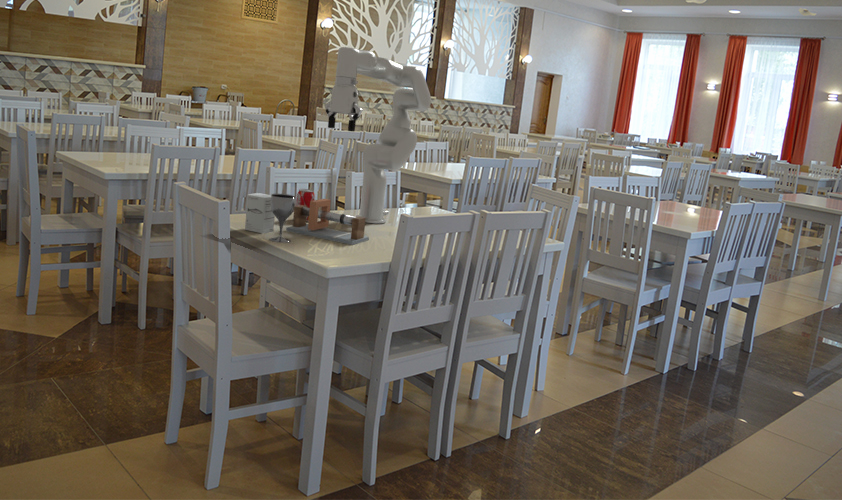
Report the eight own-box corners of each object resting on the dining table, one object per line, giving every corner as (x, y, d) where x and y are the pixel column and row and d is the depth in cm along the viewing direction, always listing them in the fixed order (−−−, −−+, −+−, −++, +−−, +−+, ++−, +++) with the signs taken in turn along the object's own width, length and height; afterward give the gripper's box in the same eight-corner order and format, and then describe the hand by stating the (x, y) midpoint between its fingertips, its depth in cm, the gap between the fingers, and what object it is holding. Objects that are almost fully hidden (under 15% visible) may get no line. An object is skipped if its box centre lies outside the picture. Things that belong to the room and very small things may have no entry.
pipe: (297, 215, 241) (298, 206, 240) (302, 214, 244) (303, 205, 244) (356, 227, 233) (356, 217, 232) (360, 226, 236) (361, 216, 235)
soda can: (309, 223, 257) (311, 192, 255) (291, 220, 258) (294, 189, 256) (315, 220, 264) (318, 190, 261) (298, 217, 265) (301, 187, 263)
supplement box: (244, 230, 232) (246, 194, 229) (256, 227, 239) (258, 192, 236) (262, 234, 229) (264, 197, 227) (274, 231, 236) (276, 195, 233)
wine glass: (270, 242, 218) (273, 197, 215) (265, 237, 225) (269, 193, 222) (294, 243, 222) (298, 198, 218) (289, 237, 229) (292, 194, 225)
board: (286, 230, 239) (286, 227, 239) (304, 226, 250) (304, 223, 250) (352, 244, 229) (352, 241, 229) (368, 240, 240) (369, 236, 240)
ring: (307, 229, 237) (310, 201, 234) (322, 225, 246) (325, 198, 243) (313, 230, 236) (316, 202, 233) (328, 226, 245) (330, 199, 243)
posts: (292, 229, 242) (294, 206, 240) (300, 227, 247) (301, 205, 245) (356, 243, 233) (358, 219, 231) (363, 241, 237) (365, 217, 235)
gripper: (370, 85, 244) (365, 132, 248) (334, 81, 253) (330, 127, 257) (357, 83, 238) (352, 132, 242) (321, 79, 247) (316, 126, 251)
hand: (341, 129), depth 249 cm, fingers open, 9 cm apart
